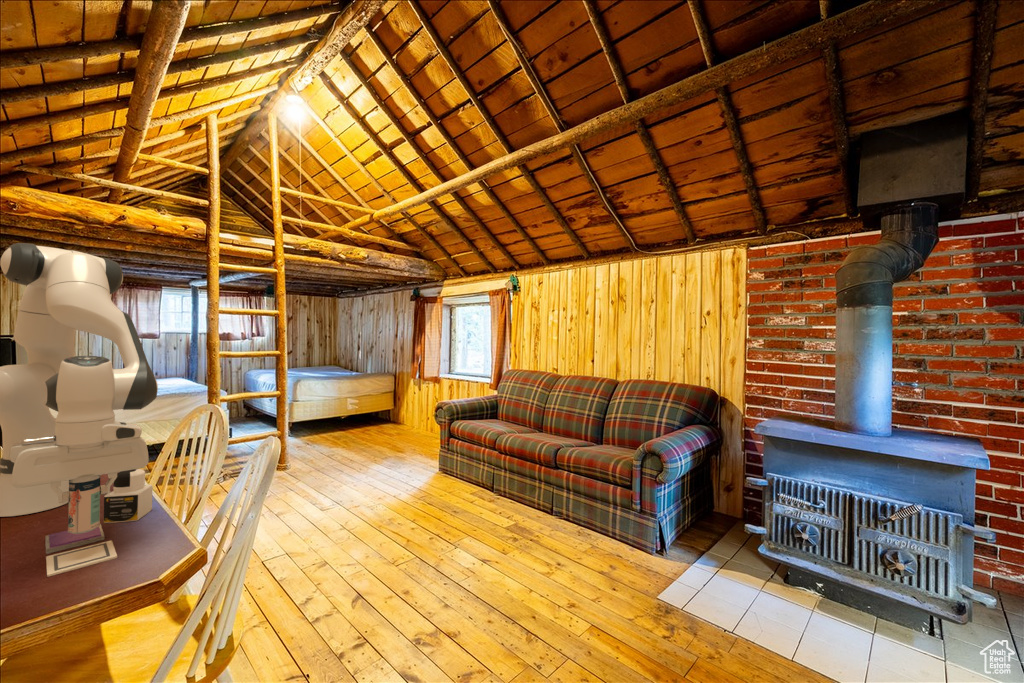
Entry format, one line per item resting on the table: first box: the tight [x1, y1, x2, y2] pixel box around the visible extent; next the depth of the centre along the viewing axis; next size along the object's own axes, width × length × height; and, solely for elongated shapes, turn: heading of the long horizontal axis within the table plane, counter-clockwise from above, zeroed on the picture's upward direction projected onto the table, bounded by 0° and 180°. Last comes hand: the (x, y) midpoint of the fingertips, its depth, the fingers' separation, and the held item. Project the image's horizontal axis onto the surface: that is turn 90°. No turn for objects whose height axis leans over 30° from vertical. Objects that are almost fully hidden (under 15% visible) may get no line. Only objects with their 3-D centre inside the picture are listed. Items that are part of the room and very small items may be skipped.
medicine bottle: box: [103, 468, 154, 524], centre depth 109 cm, size 7×7×12 cm
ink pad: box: [45, 523, 105, 555], centre depth 96 cm, size 9×9×1 cm
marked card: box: [45, 540, 118, 578], centre depth 89 cm, size 10×10×1 cm
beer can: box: [67, 475, 102, 534], centre depth 89 cm, size 5×5×12 cm
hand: (84, 497), depth 89 cm, fingers closed on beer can, 5 cm apart
